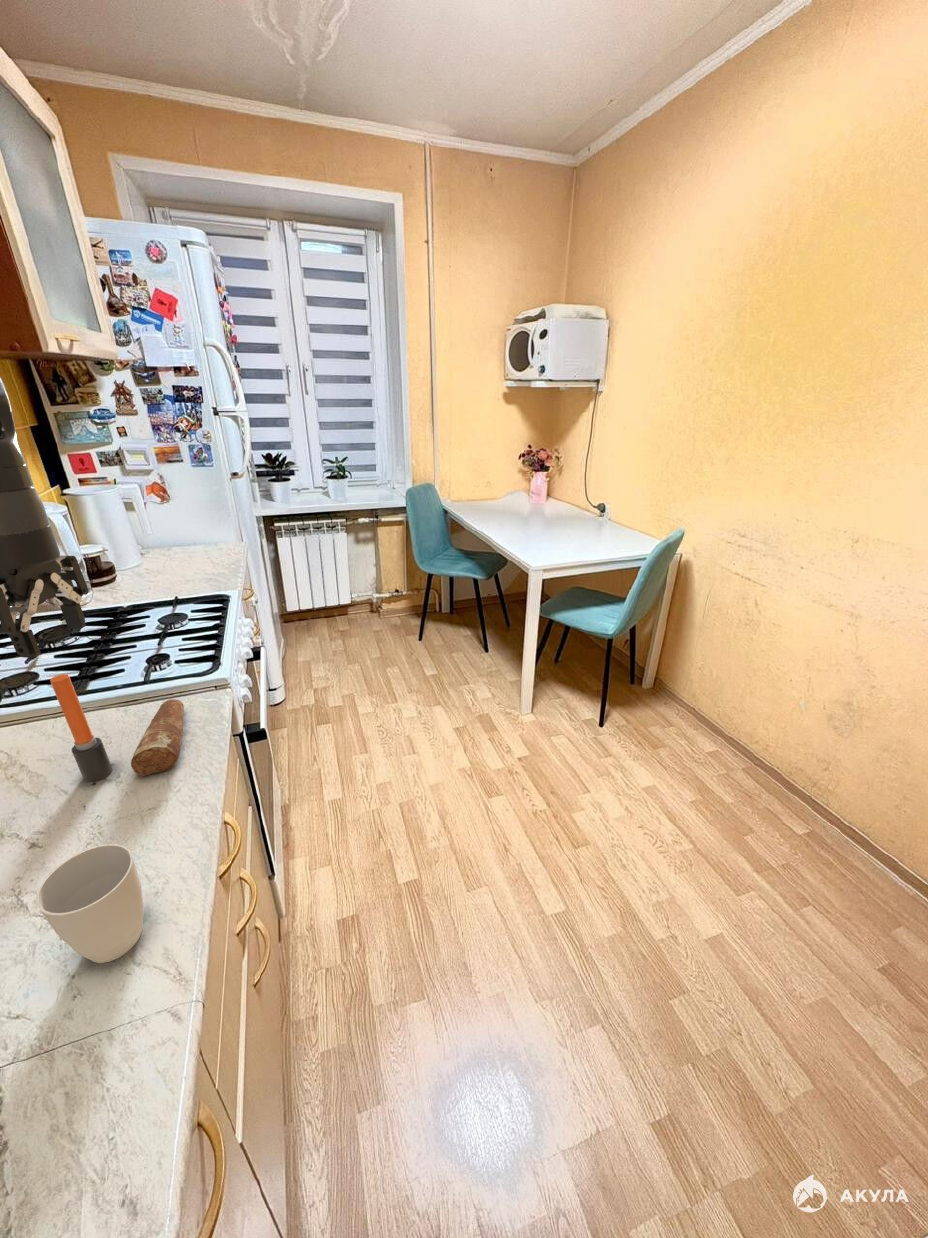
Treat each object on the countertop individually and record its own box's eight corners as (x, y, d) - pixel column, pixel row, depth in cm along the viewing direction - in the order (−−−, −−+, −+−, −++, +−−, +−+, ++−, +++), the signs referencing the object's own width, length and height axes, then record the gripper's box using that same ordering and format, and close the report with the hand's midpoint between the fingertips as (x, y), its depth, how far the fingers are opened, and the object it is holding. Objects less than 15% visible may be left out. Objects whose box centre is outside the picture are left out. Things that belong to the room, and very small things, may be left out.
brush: (78, 782, 77) (35, 683, 70) (98, 766, 81) (60, 670, 73) (99, 785, 77) (58, 686, 69) (118, 769, 80) (82, 672, 73)
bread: (135, 784, 77) (124, 756, 74) (160, 716, 93) (152, 690, 91) (180, 775, 79) (171, 746, 76) (197, 709, 95) (190, 684, 93)
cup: (162, 895, 60) (139, 835, 55) (151, 961, 53) (123, 897, 49) (83, 919, 57) (52, 858, 53) (59, 992, 50) (22, 927, 46)
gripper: (27, 513, 69) (66, 620, 75) (-75, 541, 56) (-17, 667, 62) (81, 513, 69) (115, 620, 75) (-8, 541, 56) (42, 667, 62)
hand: (55, 641), depth 69 cm, fingers open, 8 cm apart
